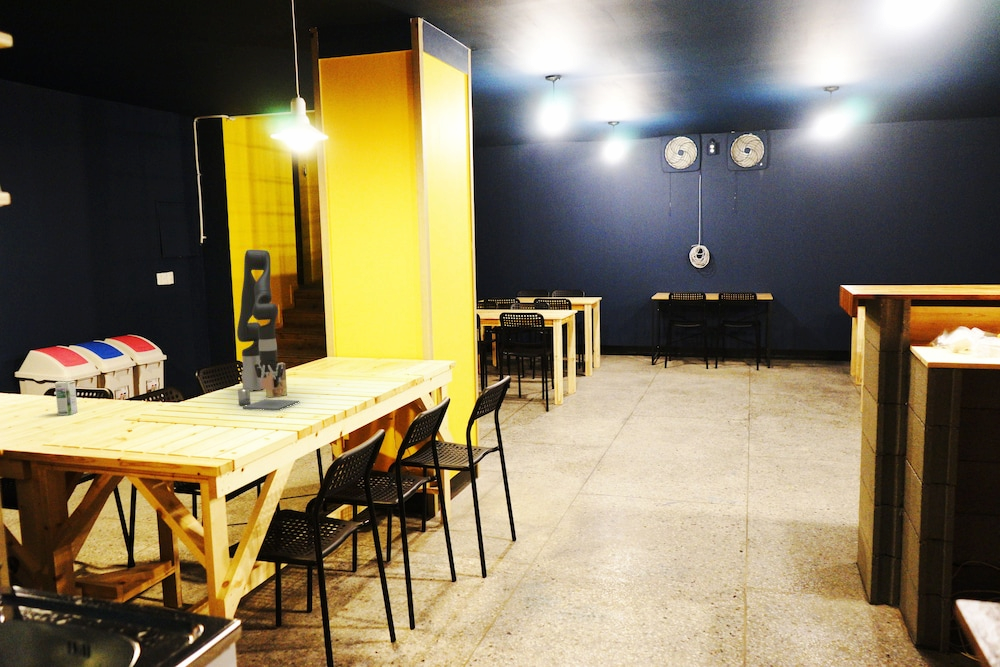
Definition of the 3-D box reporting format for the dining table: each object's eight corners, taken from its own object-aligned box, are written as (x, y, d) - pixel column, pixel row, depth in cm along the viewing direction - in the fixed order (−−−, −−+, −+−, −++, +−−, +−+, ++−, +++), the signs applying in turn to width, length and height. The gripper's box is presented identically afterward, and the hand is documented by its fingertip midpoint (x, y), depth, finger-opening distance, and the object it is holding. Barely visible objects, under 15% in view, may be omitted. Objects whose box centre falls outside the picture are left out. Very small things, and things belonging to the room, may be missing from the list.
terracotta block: (262, 389, 328) (261, 377, 327) (269, 387, 333) (268, 376, 332) (272, 389, 326) (271, 378, 326) (278, 387, 331) (278, 376, 331)
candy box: (283, 394, 357) (281, 362, 355) (287, 395, 354) (285, 363, 352) (265, 396, 352) (263, 364, 350) (269, 398, 348) (267, 365, 347)
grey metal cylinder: (236, 405, 333) (235, 390, 332) (243, 403, 338) (242, 388, 337) (246, 406, 332) (244, 390, 331) (252, 403, 336) (251, 388, 336)
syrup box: (57, 415, 324) (54, 382, 322) (65, 412, 329) (62, 380, 328) (70, 415, 324) (67, 382, 322) (78, 412, 329) (75, 379, 328)
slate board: (242, 409, 326) (242, 406, 326) (265, 401, 341) (264, 399, 341) (278, 410, 320) (278, 408, 320) (299, 402, 335) (299, 400, 335)
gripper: (287, 348, 329) (289, 386, 331) (259, 347, 333) (261, 385, 335) (277, 350, 322) (279, 389, 324) (248, 350, 326) (251, 388, 328)
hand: (270, 387), depth 330 cm, fingers closed on terracotta block, 5 cm apart
